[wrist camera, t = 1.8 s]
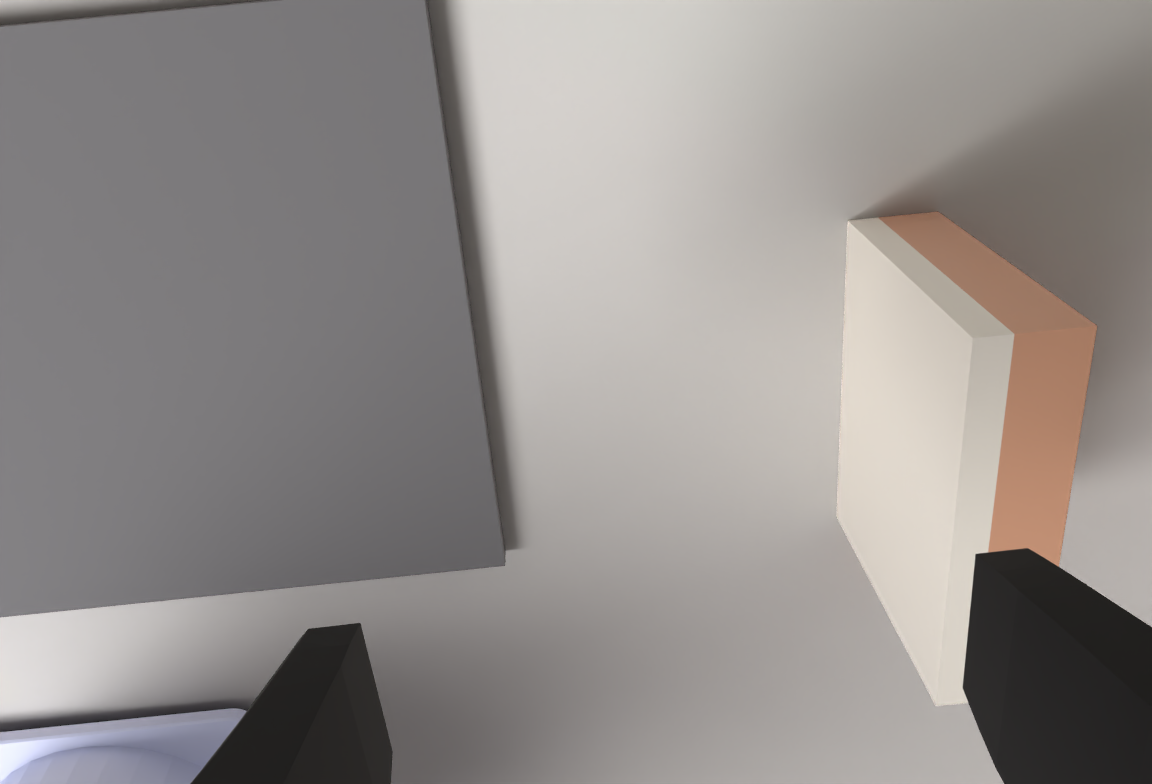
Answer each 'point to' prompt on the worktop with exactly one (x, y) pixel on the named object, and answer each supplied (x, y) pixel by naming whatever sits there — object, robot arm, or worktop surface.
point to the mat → (232, 308)
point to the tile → (951, 424)
